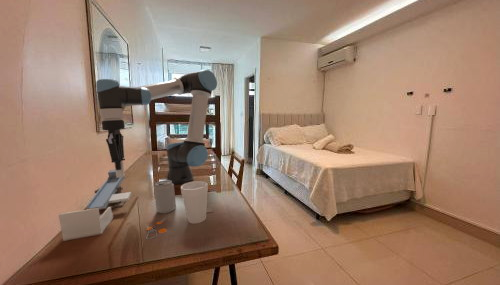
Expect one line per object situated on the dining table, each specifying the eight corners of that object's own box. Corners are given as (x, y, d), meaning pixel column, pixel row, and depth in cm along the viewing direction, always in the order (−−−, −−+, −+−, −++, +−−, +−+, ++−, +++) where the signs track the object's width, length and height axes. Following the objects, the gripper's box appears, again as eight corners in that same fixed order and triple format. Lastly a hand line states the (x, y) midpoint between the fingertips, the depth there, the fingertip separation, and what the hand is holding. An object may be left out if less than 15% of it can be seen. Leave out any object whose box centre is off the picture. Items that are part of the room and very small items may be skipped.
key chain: (167, 235, 67) (167, 233, 67) (142, 241, 64) (142, 239, 64) (167, 218, 79) (167, 216, 78) (146, 222, 76) (146, 220, 76)
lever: (111, 178, 104) (110, 170, 102) (140, 174, 107) (138, 167, 106) (87, 210, 78) (85, 200, 77) (126, 205, 82) (124, 195, 80)
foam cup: (182, 216, 79) (179, 183, 77) (207, 210, 82) (204, 179, 81) (185, 228, 70) (182, 192, 68) (212, 221, 74) (209, 186, 72)
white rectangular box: (81, 223, 77) (77, 200, 76) (113, 218, 80) (110, 195, 79) (63, 240, 66) (58, 214, 65) (101, 234, 69) (97, 208, 68)
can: (153, 210, 85) (150, 182, 83) (171, 204, 90) (168, 178, 88) (161, 216, 79) (158, 186, 78) (179, 209, 85) (176, 181, 83)
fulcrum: (100, 203, 95) (98, 186, 94) (127, 199, 98) (125, 183, 97) (93, 211, 87) (90, 192, 86) (122, 206, 90) (119, 189, 89)
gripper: (107, 120, 87) (115, 173, 90) (94, 120, 75) (104, 182, 78) (127, 119, 89) (134, 171, 93) (118, 119, 77) (126, 180, 80)
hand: (120, 176), depth 85 cm, fingers closed
